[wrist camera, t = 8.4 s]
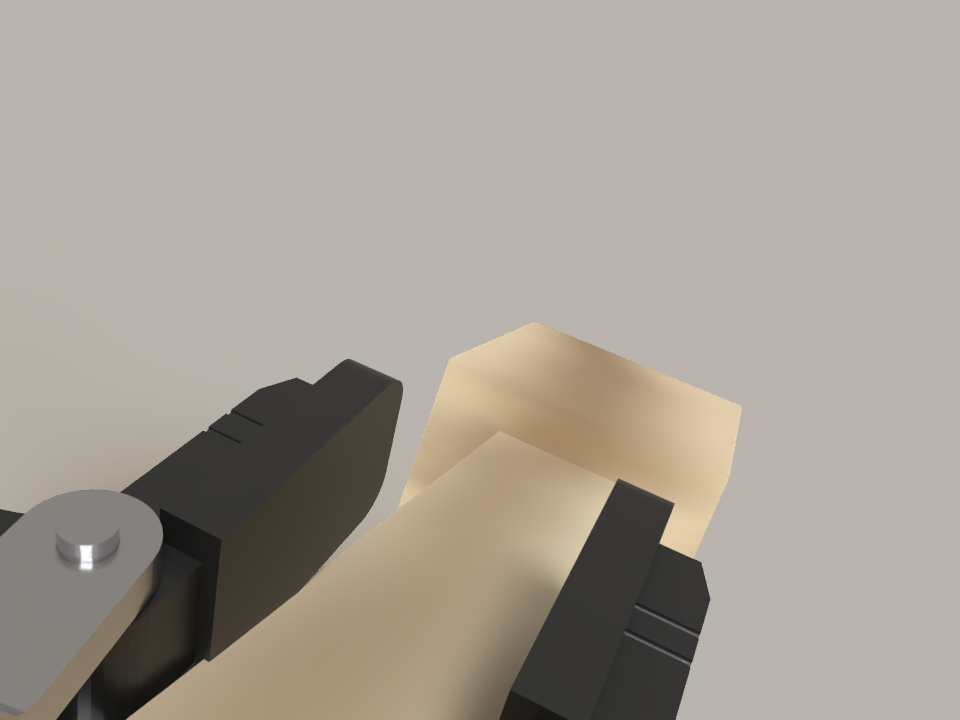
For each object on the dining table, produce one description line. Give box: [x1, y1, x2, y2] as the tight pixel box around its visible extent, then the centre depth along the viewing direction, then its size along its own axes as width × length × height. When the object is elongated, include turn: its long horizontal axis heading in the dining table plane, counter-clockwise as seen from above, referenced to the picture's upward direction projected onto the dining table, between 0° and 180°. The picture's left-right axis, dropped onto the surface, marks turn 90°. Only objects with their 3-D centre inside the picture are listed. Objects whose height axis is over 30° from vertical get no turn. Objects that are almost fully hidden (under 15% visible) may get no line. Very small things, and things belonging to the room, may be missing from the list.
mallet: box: [126, 322, 742, 720], centre depth 16 cm, size 6×20×5 cm, turn 165°
